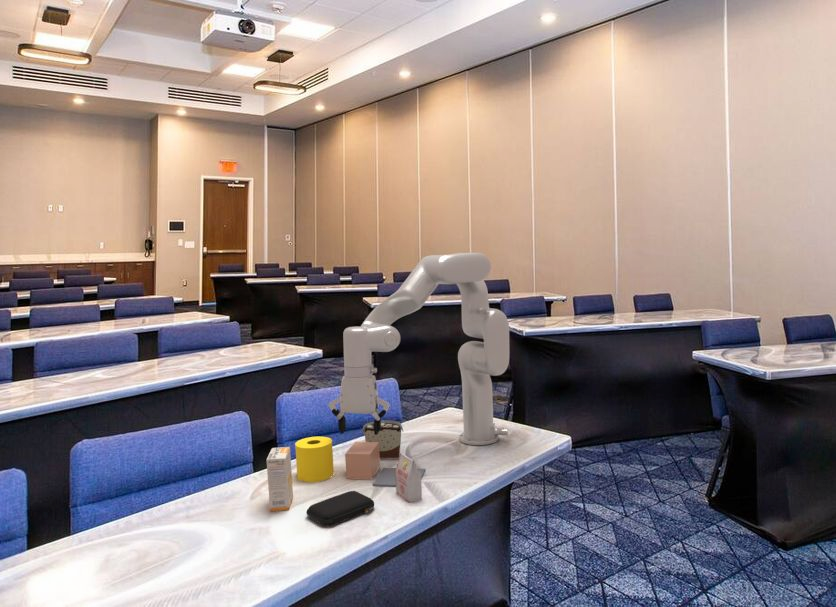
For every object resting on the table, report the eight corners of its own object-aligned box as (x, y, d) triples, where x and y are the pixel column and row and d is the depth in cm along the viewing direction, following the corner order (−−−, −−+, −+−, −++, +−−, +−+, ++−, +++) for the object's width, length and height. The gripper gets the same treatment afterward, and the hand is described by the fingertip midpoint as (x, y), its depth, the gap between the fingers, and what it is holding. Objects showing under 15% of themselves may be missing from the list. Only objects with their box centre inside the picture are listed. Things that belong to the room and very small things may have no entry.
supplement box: (274, 497, 149) (271, 447, 148) (293, 496, 150) (290, 446, 149) (269, 512, 141) (265, 458, 140) (289, 510, 141) (286, 457, 140)
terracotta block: (380, 465, 169) (378, 442, 168) (371, 479, 159) (370, 454, 158) (356, 465, 170) (355, 441, 169) (346, 478, 160) (345, 453, 159)
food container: (406, 451, 180) (405, 419, 179) (404, 458, 174) (403, 425, 173) (367, 451, 181) (365, 420, 180) (363, 458, 175) (361, 426, 174)
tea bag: (409, 489, 151) (407, 451, 150) (421, 498, 145) (420, 459, 144) (396, 493, 149) (394, 454, 148) (408, 502, 143) (406, 462, 142)
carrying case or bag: (328, 532, 130) (381, 511, 140) (327, 519, 130) (380, 499, 139) (303, 517, 138) (354, 498, 148) (302, 505, 138) (354, 487, 147)
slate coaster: (425, 470, 164) (425, 468, 164) (417, 487, 152) (417, 485, 152) (383, 469, 166) (383, 467, 166) (372, 486, 154) (372, 484, 154)
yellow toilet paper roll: (302, 485, 157) (300, 450, 156) (293, 473, 166) (291, 440, 165) (338, 477, 161) (336, 444, 160) (327, 466, 170) (325, 434, 169)
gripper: (391, 369, 164) (393, 430, 165) (332, 368, 167) (334, 428, 168) (385, 374, 157) (387, 437, 158) (323, 374, 160) (325, 436, 161)
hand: (359, 432), depth 163 cm, fingers open, 9 cm apart
